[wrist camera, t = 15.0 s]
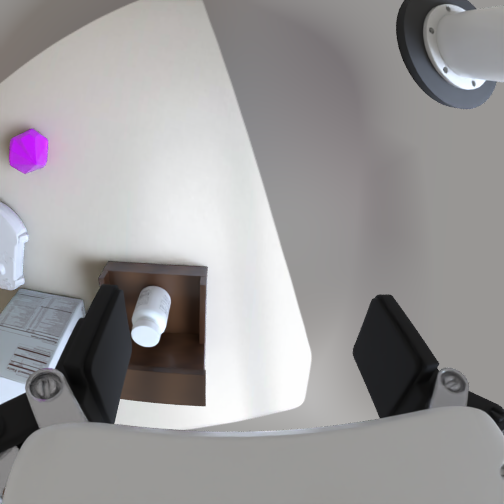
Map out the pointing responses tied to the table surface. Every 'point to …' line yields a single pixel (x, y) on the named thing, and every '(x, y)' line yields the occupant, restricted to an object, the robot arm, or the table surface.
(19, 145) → the crystal
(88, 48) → the table surface
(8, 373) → the supplement box
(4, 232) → the game controller
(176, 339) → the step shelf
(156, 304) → the pill bottle
